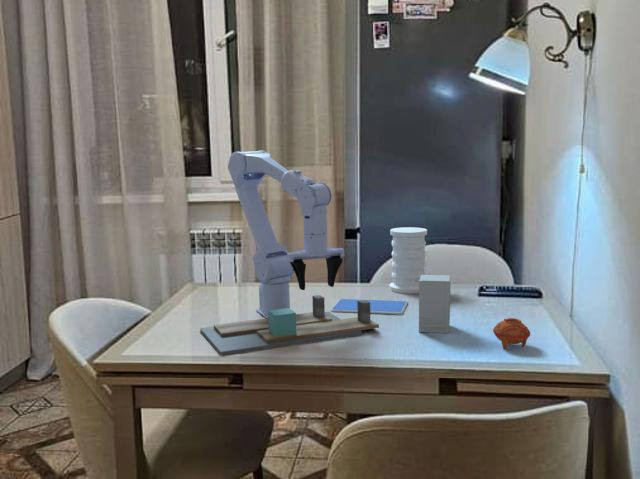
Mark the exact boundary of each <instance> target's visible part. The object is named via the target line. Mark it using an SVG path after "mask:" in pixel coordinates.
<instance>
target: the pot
mask: <svg viewBox="0 0 640 479" xmlns="http://www.w3.org/2000/svg"><path fill="white" fill-rule="evenodd" d="M492 332H493V334H494V336H495V338H497V339H498V340H499V341H500V342H501V345H502V349H503V350H507V349H508V345H519V344H521V347H525V346H526V344H527V341H528V338H530V336H531V331H530V329H529V328H528V327H527V326H526V324H524V323H523V322H522V320H521V319H518V318H513V317H508V318H503V320H501V321H500V322H498V323H497V324H496V325H495V326H494V327H493V329H492Z"/></svg>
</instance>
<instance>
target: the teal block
mask: <svg viewBox="0 0 640 479" xmlns="http://www.w3.org/2000/svg"><path fill="white" fill-rule="evenodd" d="M296 314H297V313H296V311H294V310H292V309H291V308H290V309H289V308H284V309H276V310H268V316H269V332H271V333H272V334H273V335H274V336H275V337H279V336H286V335H293V334H296Z"/></svg>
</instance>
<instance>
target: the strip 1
mask: <svg viewBox="0 0 640 479" xmlns="http://www.w3.org/2000/svg"><path fill="white" fill-rule="evenodd" d="M325 312H326V311H325V297H324V296H322V295H321V294H316V295H312V312H305V313H296V326H297V325H305V324H312V323H319V322H327V321H332V318H330V317H328V316H327V315H325ZM213 327H214V329H215V330H216V331H217V332H218V333H219V334H220V335H221V336H222V337H226V336H233V335H240V334H248V333H255V332H257V331H260V330H267V329H269V318H265V317H264V318H259V319H258V318H257V319H252V320H251V319H250V320H243V321H241V320H240V321H236V322H235V321H234V322H226V323H219V324H213Z"/></svg>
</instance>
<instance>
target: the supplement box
mask: <svg viewBox="0 0 640 479" xmlns="http://www.w3.org/2000/svg"><path fill="white" fill-rule="evenodd" d="M450 322H451V275H449V274H448V275H447V274H442V275H441V274H426V275H421V276H420V280H419V293H418V332H419V333H432V334H434V333H435V334H450V324H451V323H450Z"/></svg>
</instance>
